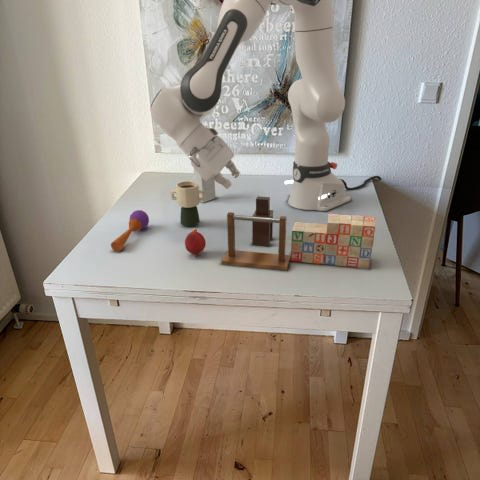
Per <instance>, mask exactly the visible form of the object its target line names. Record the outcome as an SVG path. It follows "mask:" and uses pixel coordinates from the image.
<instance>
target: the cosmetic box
mask: <svg viewBox="0 0 480 480" xmlns="http://www.w3.org/2000/svg"><path fill="white" fill-rule="evenodd" d="M193 176H194V177H193V179H194V182H197V183H198V185H199V190H204V191H205V200H204V201H200V202H199V203H203V204H204V203H206V202H209V201H211V200H215V199H216V183H215V182H216V181H215V180H214V179H213V180H212V181H211V182H210V183H208V182H206V181H205V180H204V179H203V178H202V177H201V176H200V175H199V174H198V173H197V171H196V170H195V169H194V168H193ZM199 198H202V193H199Z"/></svg>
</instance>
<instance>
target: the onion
mask: <svg viewBox="0 0 480 480" xmlns="http://www.w3.org/2000/svg"><path fill="white" fill-rule="evenodd" d="M206 246H207V243H206V238H205V237H204V235H203V234H202V233H200V232H199V231H198V229H197V228H193V229H192V231H191V232H189V233H188V234H187V236H186V237H185V239H184V247H185V249H186V251H187V253H190V254H191V255H194V256H199V254H201V253H202V252H203V251H205V248H206Z"/></svg>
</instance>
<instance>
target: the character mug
mask: <svg viewBox="0 0 480 480" xmlns="http://www.w3.org/2000/svg"><path fill="white" fill-rule="evenodd" d="M199 193H202V198H199ZM175 194H176V196H175ZM170 198H171V200H172V201H176V204H177V205H178V206H179V207H181V208H180V224H181V225H182V226H184V227H192V226H196V225H199V223H200V222H201V220H200V215H199V209H198V207H197V206H199V204H200V203H201V202H200V201H204V200H205V191H204V190H199V185H198V183H197V182H195V180H183V181H180V182H177V183H176V184H175V189H171V190H170Z"/></svg>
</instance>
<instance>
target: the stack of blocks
mask: <svg viewBox="0 0 480 480" xmlns="http://www.w3.org/2000/svg"><path fill="white" fill-rule="evenodd" d="M375 232H376V217H373V216H363V215H358V214H357V215H355V214H352V215H351V214H337V213H328V216H327V223H314V222H302V221H294V224H293V227H292V229H291V244H290V245H291V246H290V255H291V260H290V262H298V263H299V262H300V263H305V264H306V263H307V264H317V265H327V266H328V265H329V266H338V267H347V268H357V269H358V268H359V269H365V270H366V269H367V270H369V269H370V265H371V257H372V253H373V247H374V241H375Z"/></svg>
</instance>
